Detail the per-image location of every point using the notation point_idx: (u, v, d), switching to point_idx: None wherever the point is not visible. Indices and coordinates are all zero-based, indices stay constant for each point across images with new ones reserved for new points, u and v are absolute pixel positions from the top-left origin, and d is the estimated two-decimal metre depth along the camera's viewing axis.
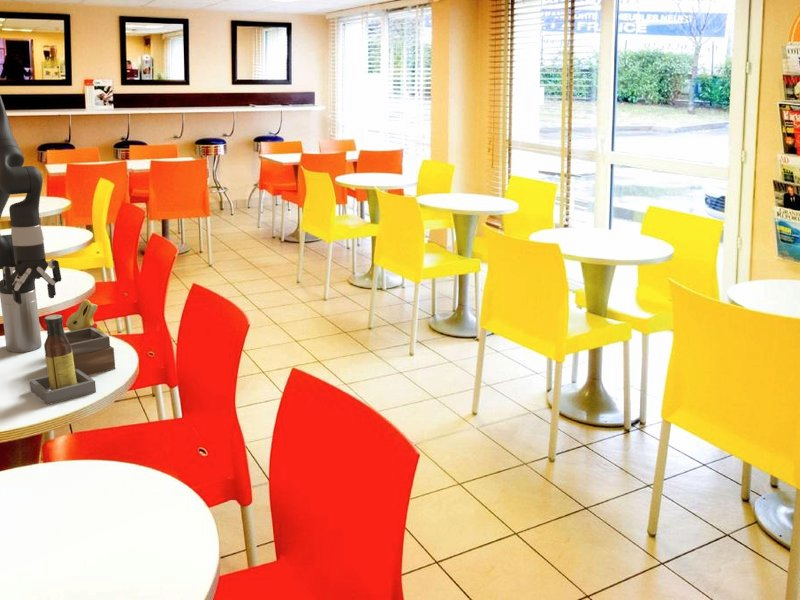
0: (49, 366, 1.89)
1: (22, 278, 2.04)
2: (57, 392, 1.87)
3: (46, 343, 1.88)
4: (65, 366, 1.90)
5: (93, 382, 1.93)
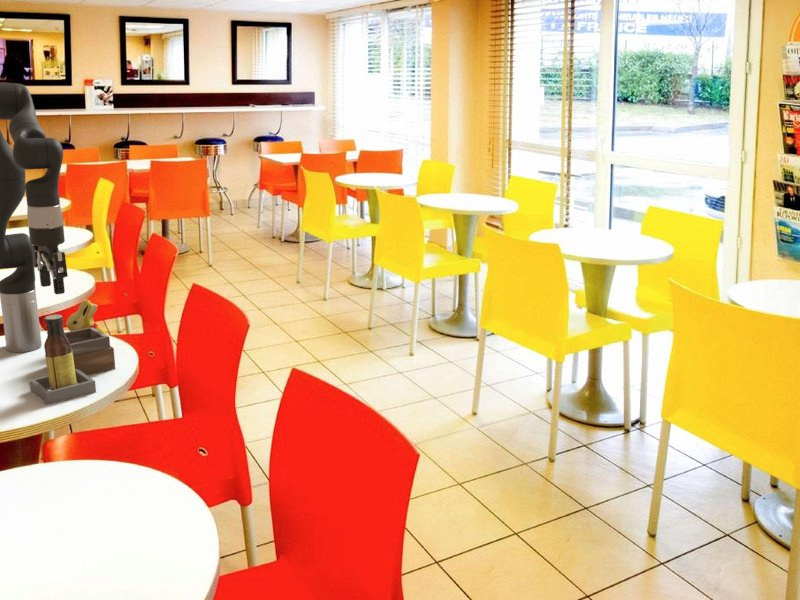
0: (49, 366, 1.89)
1: None
2: (57, 392, 1.87)
3: (46, 343, 1.88)
4: (65, 366, 1.90)
5: (93, 382, 1.93)
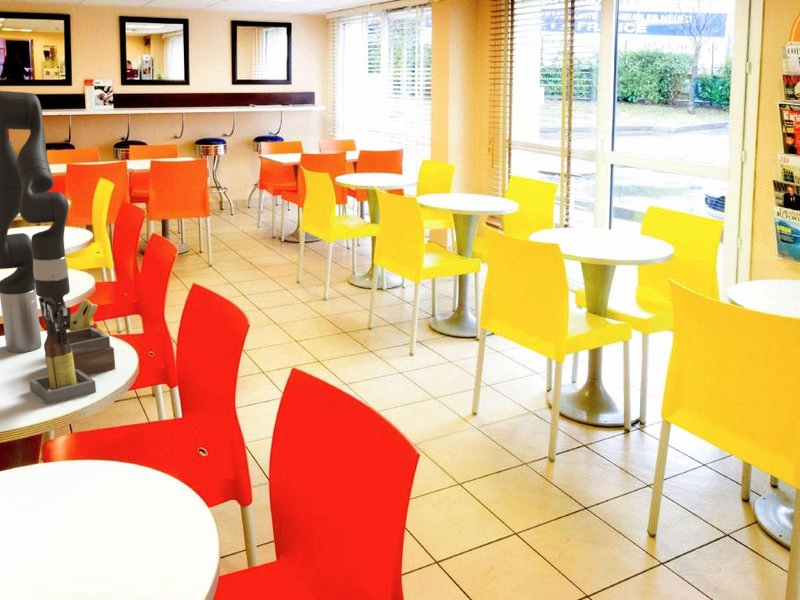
0: (49, 366, 1.89)
1: None
2: (57, 392, 1.87)
3: (46, 343, 1.88)
4: (65, 366, 1.90)
5: (93, 382, 1.93)
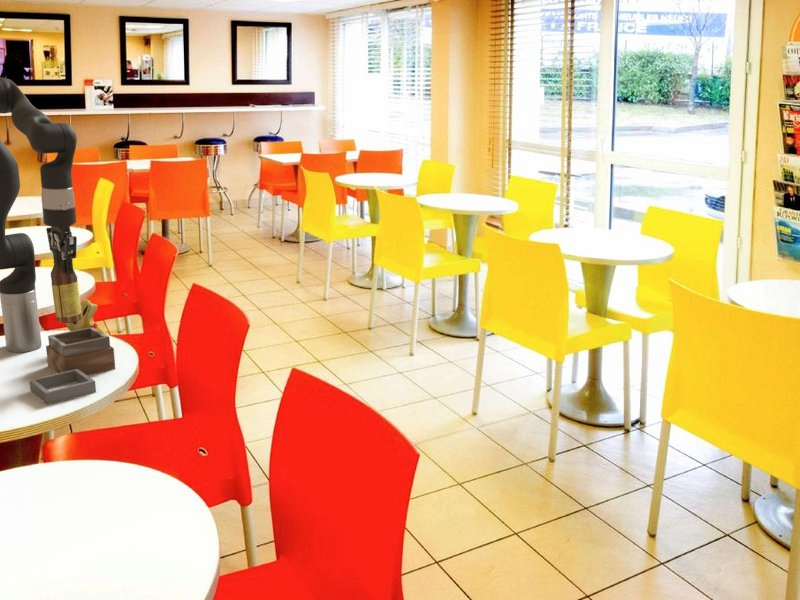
0: (55, 294, 1.95)
1: None
2: (57, 392, 1.87)
3: (52, 271, 1.94)
4: (71, 294, 1.96)
5: (93, 382, 1.93)
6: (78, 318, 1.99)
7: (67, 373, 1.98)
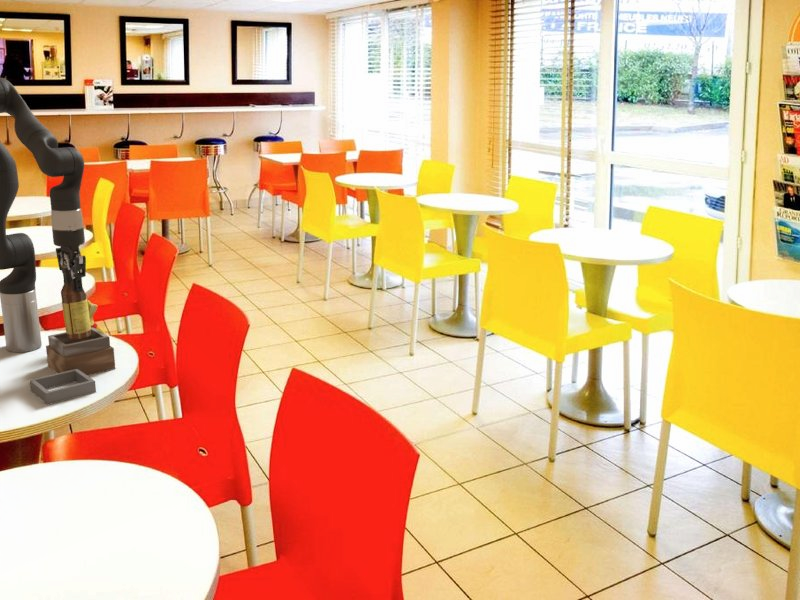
0: (66, 312, 2.02)
1: None
2: (57, 392, 1.87)
3: (63, 290, 2.01)
4: (80, 312, 2.03)
5: (93, 382, 1.93)
6: (88, 334, 2.06)
7: (67, 373, 1.98)
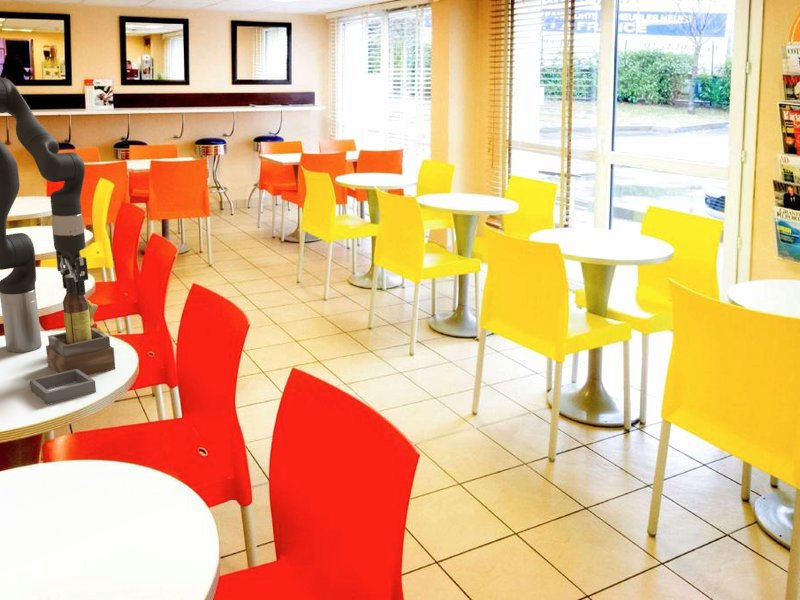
0: (67, 321, 2.03)
1: None
2: (57, 392, 1.87)
3: (65, 300, 2.02)
4: (82, 322, 2.04)
5: (93, 382, 1.93)
6: None
7: (67, 373, 1.98)
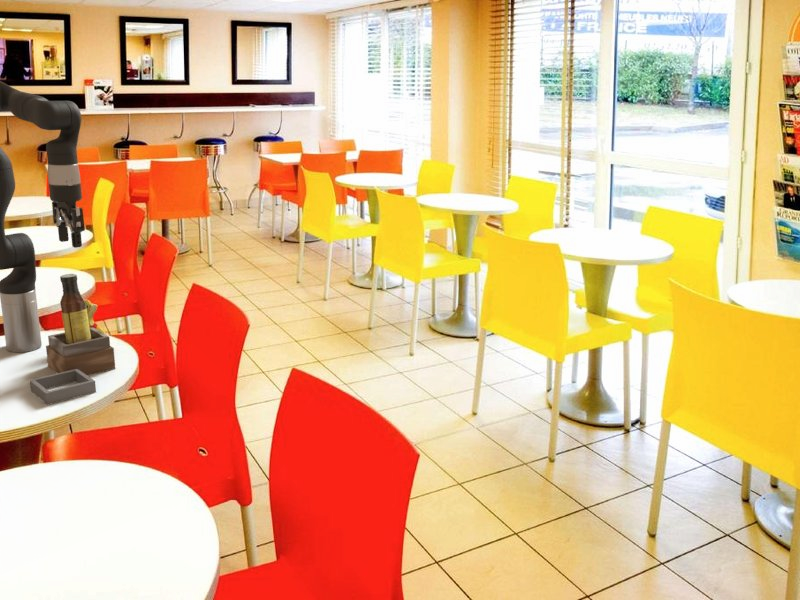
0: (66, 322, 2.03)
1: None
2: (57, 392, 1.87)
3: (62, 300, 2.02)
4: (80, 321, 2.04)
5: (93, 382, 1.93)
6: None
7: (67, 373, 1.98)
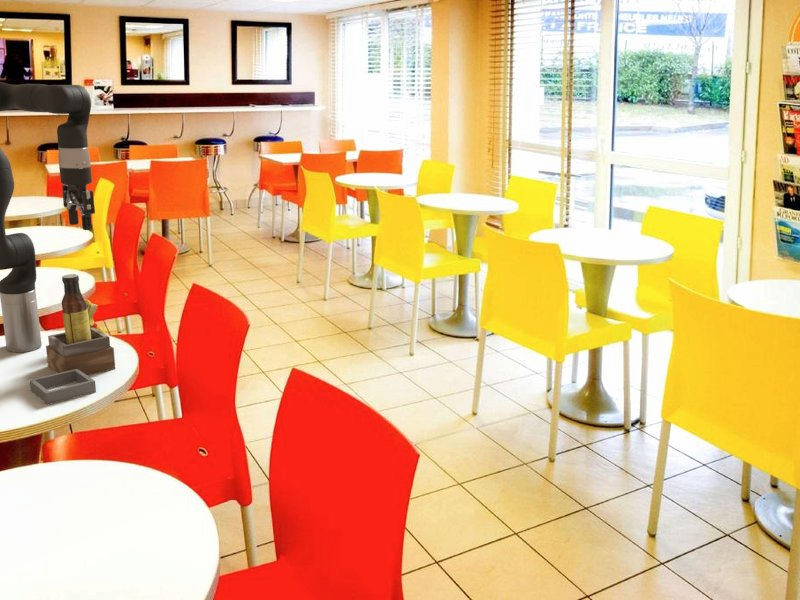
0: (66, 322, 2.03)
1: None
2: (57, 392, 1.87)
3: (63, 300, 2.02)
4: (81, 322, 2.04)
5: (93, 382, 1.93)
6: None
7: (67, 373, 1.98)
